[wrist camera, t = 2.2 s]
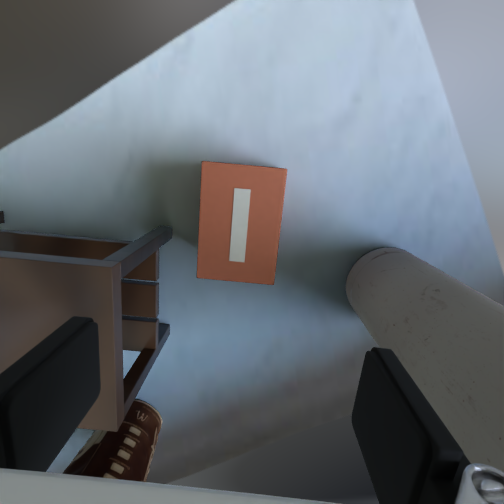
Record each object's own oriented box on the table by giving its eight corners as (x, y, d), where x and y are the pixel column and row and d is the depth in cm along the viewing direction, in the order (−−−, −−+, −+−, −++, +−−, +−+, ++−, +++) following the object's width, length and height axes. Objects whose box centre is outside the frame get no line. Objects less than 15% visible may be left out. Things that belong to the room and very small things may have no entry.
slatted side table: (6, 318, 34) (-143, 408, 21) (-9, 209, 31) (-194, 239, 18) (169, 334, 34) (117, 432, 21) (172, 226, 31) (111, 267, 18)
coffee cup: (98, 443, 38) (19, 578, 26) (98, 386, 36) (12, 503, 23) (168, 452, 38) (124, 591, 26) (173, 395, 36) (127, 517, 23)
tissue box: (210, 254, 31) (196, 278, 25) (215, 162, 29) (201, 160, 22) (270, 259, 31) (274, 285, 25) (281, 168, 29) (287, 168, 22)
